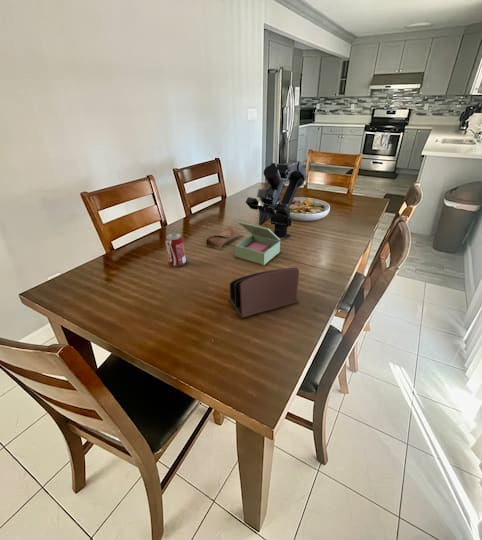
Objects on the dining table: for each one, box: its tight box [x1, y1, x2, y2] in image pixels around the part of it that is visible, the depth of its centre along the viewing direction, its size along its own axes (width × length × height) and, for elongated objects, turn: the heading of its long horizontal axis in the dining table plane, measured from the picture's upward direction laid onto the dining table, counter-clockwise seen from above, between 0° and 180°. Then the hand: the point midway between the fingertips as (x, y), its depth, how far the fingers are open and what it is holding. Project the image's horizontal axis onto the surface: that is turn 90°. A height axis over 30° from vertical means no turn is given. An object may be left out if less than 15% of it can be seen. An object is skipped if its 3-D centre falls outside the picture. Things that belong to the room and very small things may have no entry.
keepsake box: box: [234, 233, 281, 266], centre depth 124 cm, size 13×14×6 cm
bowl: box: [277, 196, 331, 222], centre depth 167 cm, size 30×30×8 cm
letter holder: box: [229, 267, 300, 319], centre depth 93 cm, size 10×20×14 cm, turn 114°
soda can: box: [165, 233, 187, 267], centre depth 117 cm, size 7×7×12 cm
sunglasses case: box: [205, 226, 243, 249], centre depth 138 cm, size 18×7×7 cm
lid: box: [237, 220, 281, 242], centre depth 121 cm, size 14×14×1 cm
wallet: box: [246, 242, 272, 253], centre depth 125 cm, size 7×10×2 cm
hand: (260, 224), depth 120 cm, fingers closed
